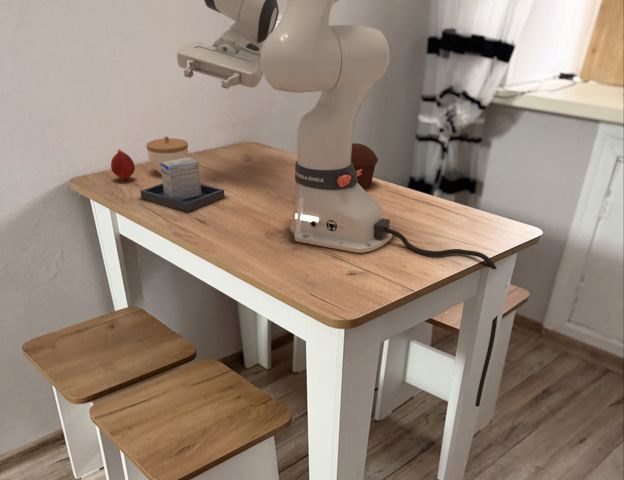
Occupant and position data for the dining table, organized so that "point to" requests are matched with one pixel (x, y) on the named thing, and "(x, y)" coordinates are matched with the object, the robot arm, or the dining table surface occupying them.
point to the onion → (122, 165)
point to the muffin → (363, 163)
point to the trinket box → (166, 151)
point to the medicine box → (181, 178)
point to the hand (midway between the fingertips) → (205, 79)
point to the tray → (188, 205)
